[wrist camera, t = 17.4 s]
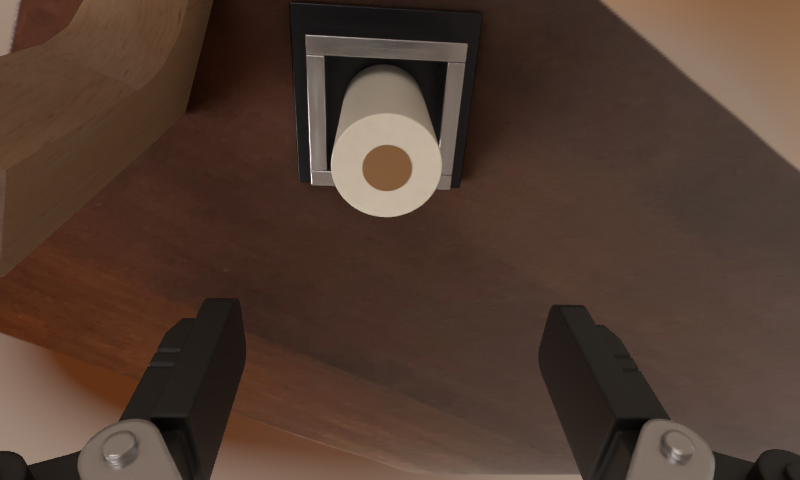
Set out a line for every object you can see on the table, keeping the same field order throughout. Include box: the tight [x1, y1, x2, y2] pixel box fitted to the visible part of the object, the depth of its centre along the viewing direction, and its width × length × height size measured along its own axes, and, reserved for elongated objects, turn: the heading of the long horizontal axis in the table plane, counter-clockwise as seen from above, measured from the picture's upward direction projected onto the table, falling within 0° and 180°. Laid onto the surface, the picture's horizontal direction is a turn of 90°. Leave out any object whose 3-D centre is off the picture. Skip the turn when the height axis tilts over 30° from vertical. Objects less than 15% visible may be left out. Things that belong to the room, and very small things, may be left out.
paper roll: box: [331, 64, 442, 217], centre depth 26 cm, size 5×5×10 cm
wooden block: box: [0, 0, 214, 278], centre depth 21 cm, size 9×4×18 cm, turn 155°
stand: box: [289, 0, 483, 190], centre depth 29 cm, size 11×11×4 cm
